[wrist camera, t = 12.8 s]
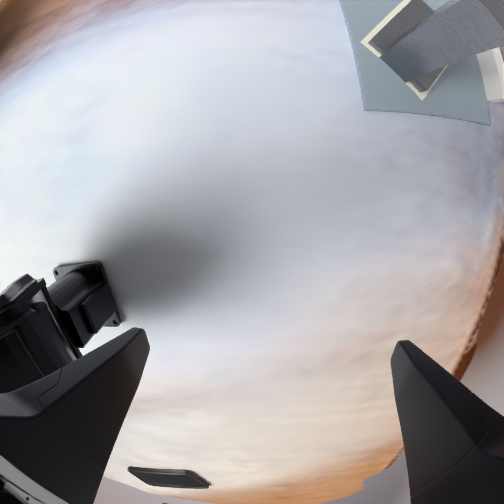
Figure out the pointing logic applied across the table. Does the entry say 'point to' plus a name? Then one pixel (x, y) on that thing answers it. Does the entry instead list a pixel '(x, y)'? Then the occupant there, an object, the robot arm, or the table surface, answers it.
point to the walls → (492, 74)
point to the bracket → (438, 37)
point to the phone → (169, 478)
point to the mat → (405, 94)
